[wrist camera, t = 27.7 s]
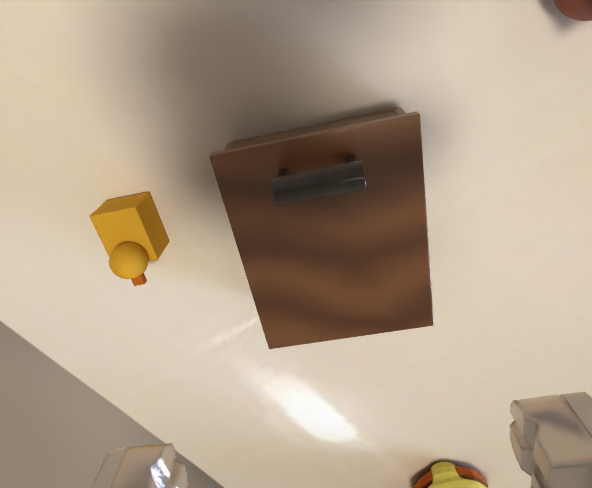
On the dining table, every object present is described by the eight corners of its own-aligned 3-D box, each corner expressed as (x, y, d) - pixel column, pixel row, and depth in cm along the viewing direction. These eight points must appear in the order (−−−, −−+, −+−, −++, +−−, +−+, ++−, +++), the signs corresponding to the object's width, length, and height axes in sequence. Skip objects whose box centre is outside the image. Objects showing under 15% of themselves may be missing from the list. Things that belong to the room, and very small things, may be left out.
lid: (211, 152, 29) (194, 175, 24) (417, 111, 27) (437, 128, 23) (269, 343, 37) (264, 385, 32) (431, 319, 35) (448, 360, 31)
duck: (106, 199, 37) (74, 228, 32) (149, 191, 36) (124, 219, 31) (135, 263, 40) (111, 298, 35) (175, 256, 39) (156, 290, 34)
